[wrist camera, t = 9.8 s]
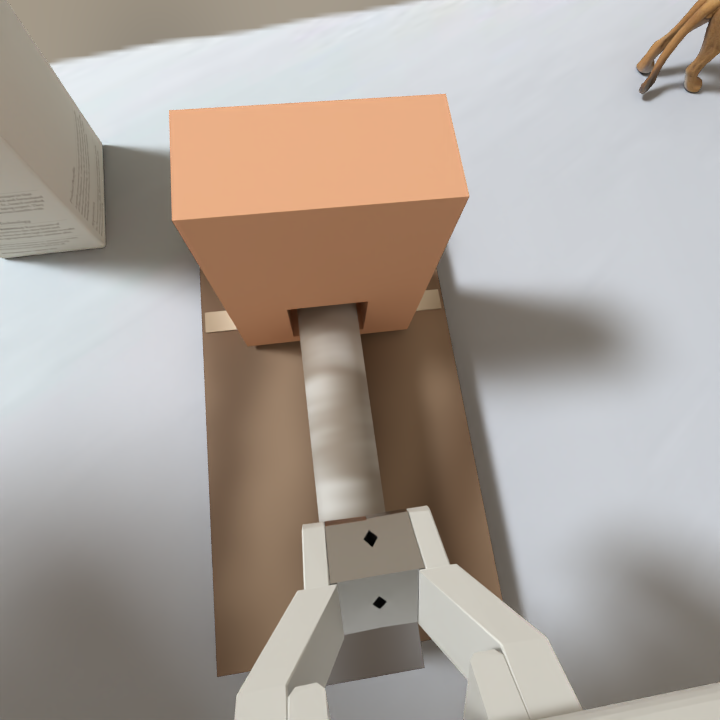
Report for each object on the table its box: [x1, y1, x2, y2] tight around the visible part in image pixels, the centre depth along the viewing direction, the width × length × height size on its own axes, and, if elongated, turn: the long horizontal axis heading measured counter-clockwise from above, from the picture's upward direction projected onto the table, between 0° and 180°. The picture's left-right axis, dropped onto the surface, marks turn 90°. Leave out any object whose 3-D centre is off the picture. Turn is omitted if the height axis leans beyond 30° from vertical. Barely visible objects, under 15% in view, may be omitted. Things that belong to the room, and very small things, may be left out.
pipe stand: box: [200, 268, 503, 686], centre depth 23 cm, size 14×25×6 cm, turn 8°
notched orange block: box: [169, 94, 469, 346], centre depth 20 cm, size 9×4×12 cm, turn 98°
